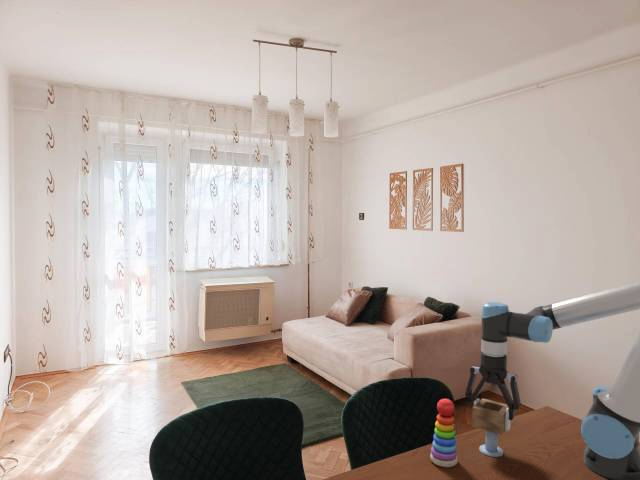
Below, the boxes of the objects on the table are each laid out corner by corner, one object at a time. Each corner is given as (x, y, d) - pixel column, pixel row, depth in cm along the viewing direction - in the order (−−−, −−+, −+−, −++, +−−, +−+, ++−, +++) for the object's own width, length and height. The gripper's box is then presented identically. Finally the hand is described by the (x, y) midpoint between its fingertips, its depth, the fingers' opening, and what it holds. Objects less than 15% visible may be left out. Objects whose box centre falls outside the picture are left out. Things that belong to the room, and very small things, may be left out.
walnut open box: (510, 424, 144) (511, 405, 144) (502, 435, 137) (502, 415, 137) (482, 416, 150) (482, 398, 149) (472, 426, 143) (472, 407, 142)
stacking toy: (459, 470, 133) (460, 406, 132) (430, 466, 135) (431, 403, 134) (456, 456, 141) (457, 395, 140) (429, 453, 142) (430, 393, 141)
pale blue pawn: (506, 450, 144) (507, 422, 144) (499, 459, 139) (499, 430, 138) (483, 443, 149) (484, 415, 148) (475, 451, 143) (476, 423, 143)
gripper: (534, 357, 138) (532, 430, 140) (463, 344, 152) (462, 411, 153) (527, 363, 132) (525, 440, 134) (454, 349, 146) (453, 418, 147)
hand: (491, 424), depth 143 cm, fingers closed on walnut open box, 9 cm apart
